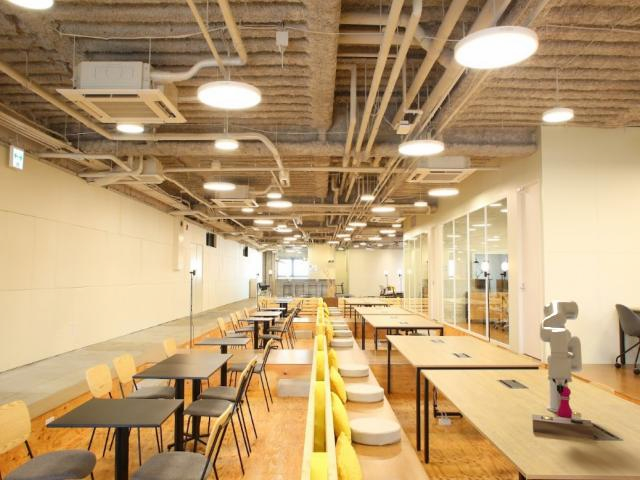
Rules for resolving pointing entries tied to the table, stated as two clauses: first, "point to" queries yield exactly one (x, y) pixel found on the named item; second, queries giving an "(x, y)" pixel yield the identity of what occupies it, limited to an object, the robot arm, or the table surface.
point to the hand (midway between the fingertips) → (560, 393)
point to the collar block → (563, 427)
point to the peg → (576, 417)
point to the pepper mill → (565, 404)
